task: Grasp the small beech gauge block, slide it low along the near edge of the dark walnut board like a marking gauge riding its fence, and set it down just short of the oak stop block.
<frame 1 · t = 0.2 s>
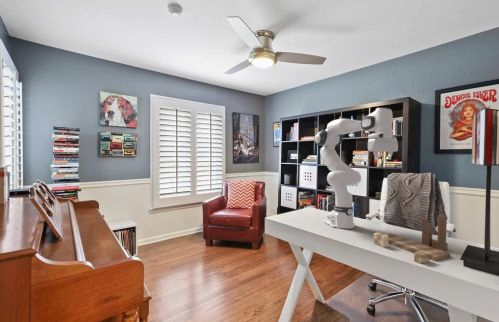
hand: (383, 159, 141), 47 cm above the table, fingers open, 8 cm apart
brown wooden upright frame: (434, 247, 132), on the table
board: (409, 247, 132), on the table
gauge block: (380, 245, 135), on the table
stop block: (421, 261, 115), on the table
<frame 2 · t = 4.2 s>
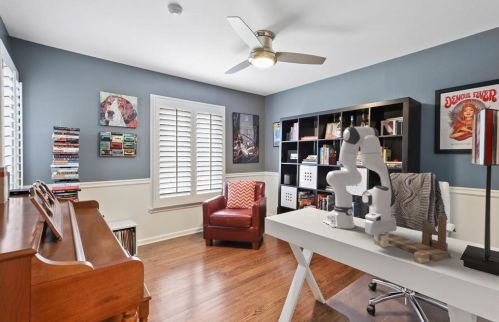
hand: (380, 240, 135), 3 cm above the table, fingers closed on gauge block, 4 cm apart
gauge block: (380, 245, 135), on the table, touching gripper
everything else where it was.
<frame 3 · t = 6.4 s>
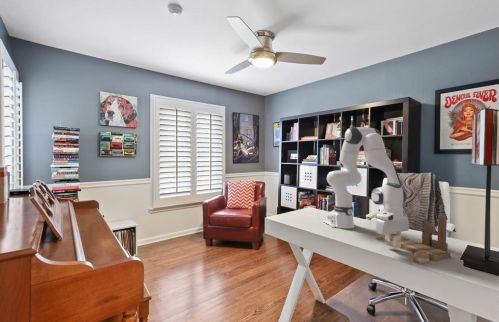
hand: (392, 240, 128), 5 cm above the table, fingers closed on gauge block, 4 cm apart
gauge block: (392, 245, 128), point 2 cm above the table, touching gripper
everything else where it was.
when the fingers open (3 cm above the table, at t = 8.8 s): gauge block stays where it is, on the table.
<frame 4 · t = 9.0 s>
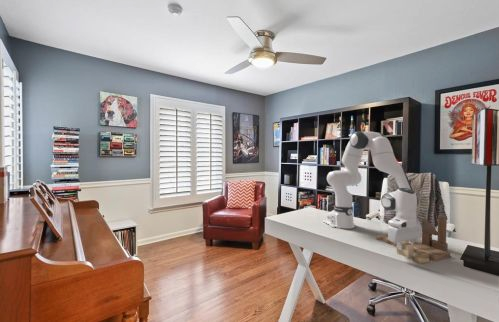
hand: (405, 248, 122), 3 cm above the table, fingers open, 5 cm apart
gauge block: (405, 254, 122), on the table
everything else where it was.
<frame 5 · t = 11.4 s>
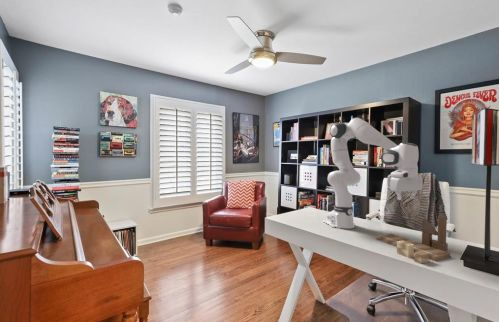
hand: (406, 199, 130), 26 cm above the table, fingers open, 8 cm apart
nothing on the table moved.
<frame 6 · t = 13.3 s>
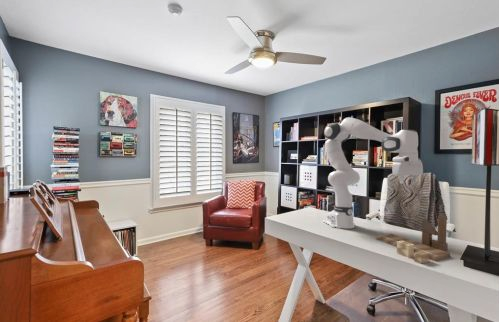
hand: (407, 183, 136), 34 cm above the table, fingers open, 8 cm apart
nothing on the table moved.
at the end: gauge block inside the target area (0.1 cm from its centre), on the table; gauge block tilted 0°; the gripper is holding nothing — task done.
